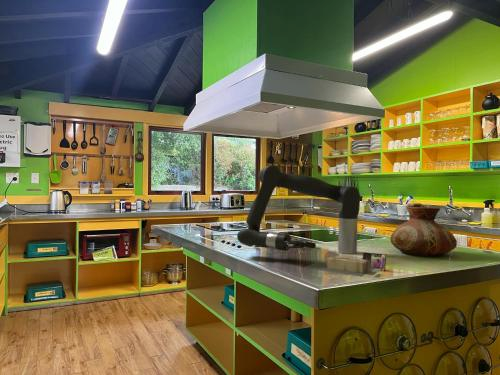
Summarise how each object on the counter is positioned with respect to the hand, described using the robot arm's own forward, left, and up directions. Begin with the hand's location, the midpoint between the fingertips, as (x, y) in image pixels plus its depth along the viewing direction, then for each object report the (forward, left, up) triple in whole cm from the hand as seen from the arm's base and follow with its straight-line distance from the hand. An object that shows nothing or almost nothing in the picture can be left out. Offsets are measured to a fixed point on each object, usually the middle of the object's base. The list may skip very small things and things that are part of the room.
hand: (315, 245), depth 155 cm
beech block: (0, +7, -6) cm, 9 cm away
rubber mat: (0, +10, -9) cm, 13 cm away
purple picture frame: (-11, +21, -9) cm, 25 cm away
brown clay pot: (-61, +31, -9) cm, 69 cm away
